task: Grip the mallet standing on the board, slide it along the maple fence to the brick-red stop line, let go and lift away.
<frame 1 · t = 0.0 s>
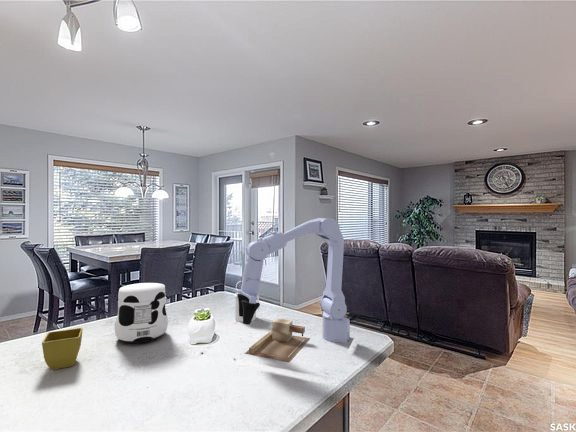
hand: (244, 319, 103), 11 cm above the kitchen island, tool pointing down, fingers open, 7 cm apart
mallet: (282, 338, 111), point 1 cm above the kitchen island, touching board
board: (279, 349, 105), on the kitchen island
milk container: (141, 337, 114), on the kitchen island
flower pot: (63, 365, 93), on the kitchen island
white soap dispenser: (246, 322, 132), on the kitchen island
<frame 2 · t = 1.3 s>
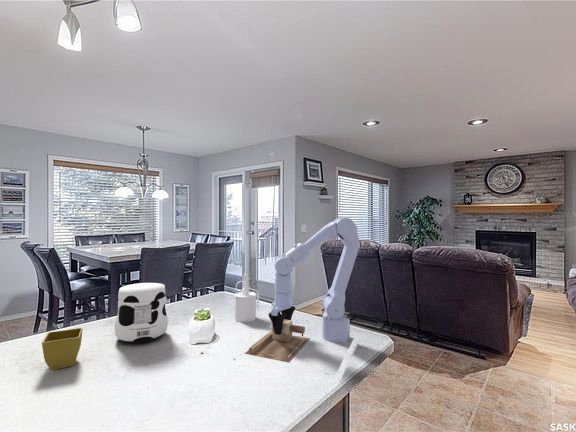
hand: (282, 330, 111), 4 cm above the kitchen island, tool pointing down, fingers open, 7 cm apart
nothing on the kitchen island moved.
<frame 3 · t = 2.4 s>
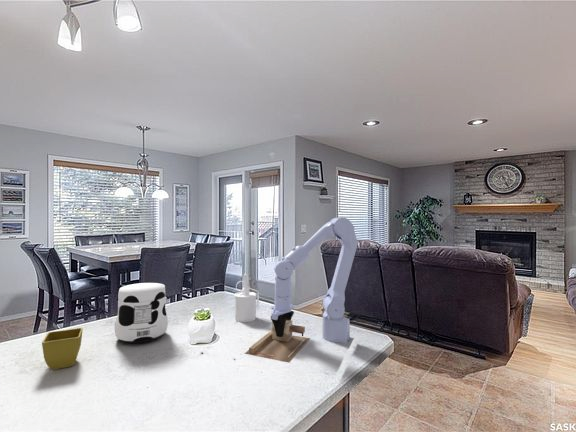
hand: (282, 334, 111), 3 cm above the kitchen island, tool pointing down, fingers closed on mallet, 4 cm apart
mallet: (282, 338, 111), point 1 cm above the kitchen island, touching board, gripper
everything else where it was.
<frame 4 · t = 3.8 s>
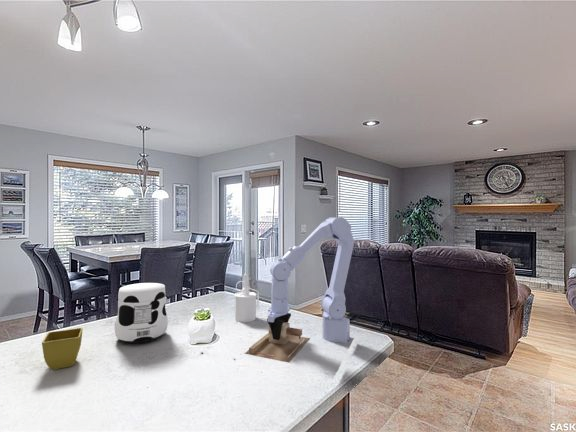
hand: (279, 336, 109), 3 cm above the kitchen island, tool pointing down, fingers closed on mallet, 4 cm apart
mallet: (279, 341, 109), point 2 cm above the kitchen island, touching gripper
everything else where it was.
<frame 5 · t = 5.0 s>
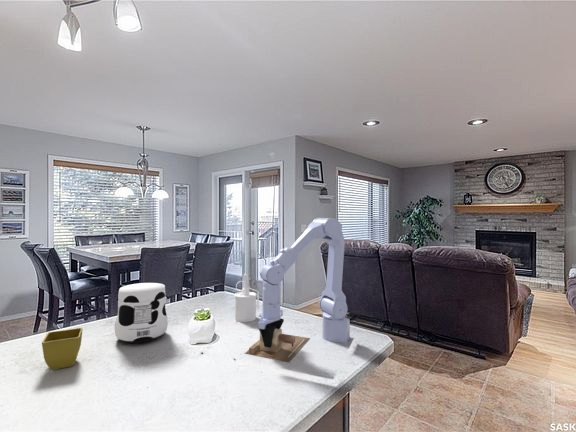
hand: (270, 344, 103), 3 cm above the kitchen island, tool pointing down, fingers closed on mallet, 4 cm apart
mallet: (270, 348, 103), point 2 cm above the kitchen island, touching gripper
everything else where it was.
when the fingers open (3 cm above the kitchen island, at t = 6.7 s): mallet stays where it is, resting on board.
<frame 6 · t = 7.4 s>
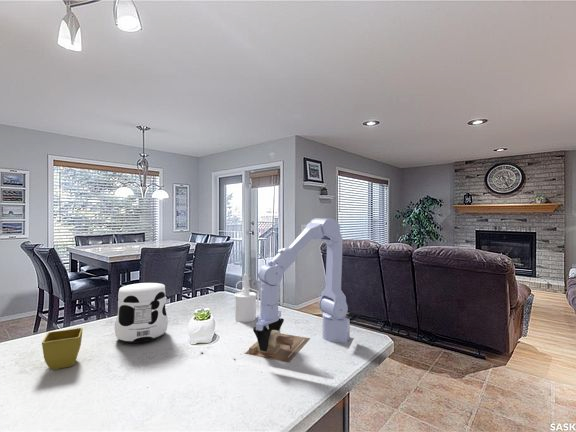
hand: (268, 345, 101), 3 cm above the kitchen island, tool pointing down, fingers open, 7 cm apart
mallet: (268, 350, 101), point 1 cm above the kitchen island, touching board
everything else where it was.
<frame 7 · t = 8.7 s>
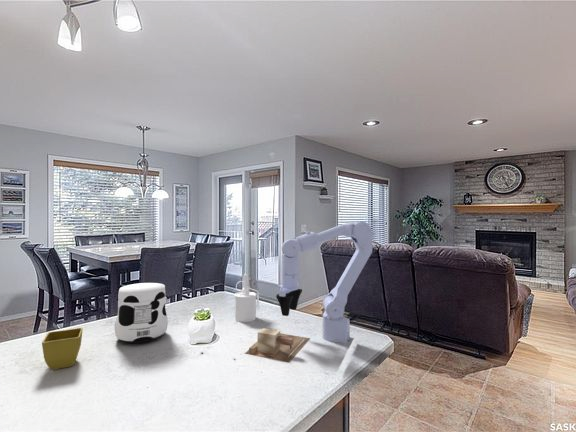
hand: (289, 312, 112), 10 cm above the kitchen island, tool pointing down, fingers open, 7 cm apart
nothing on the kitchen island moved.
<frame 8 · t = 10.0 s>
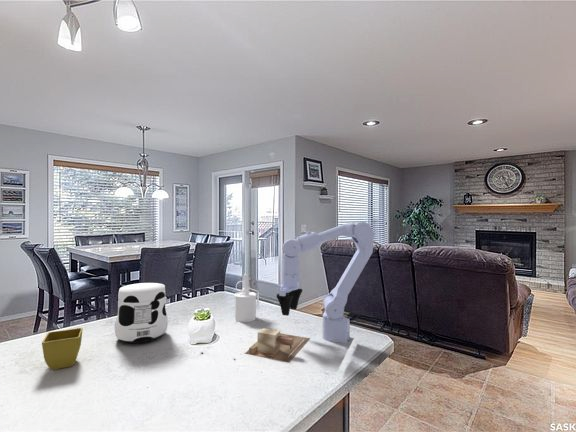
hand: (289, 312, 112), 10 cm above the kitchen island, tool pointing down, fingers open, 7 cm apart
nothing on the kitchen island moved.
at the end: mallet 0.0 cm from the target spot, point 1.5 cm above the kitchen island; mallet tilted 0°; the gripper is holding nothing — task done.
